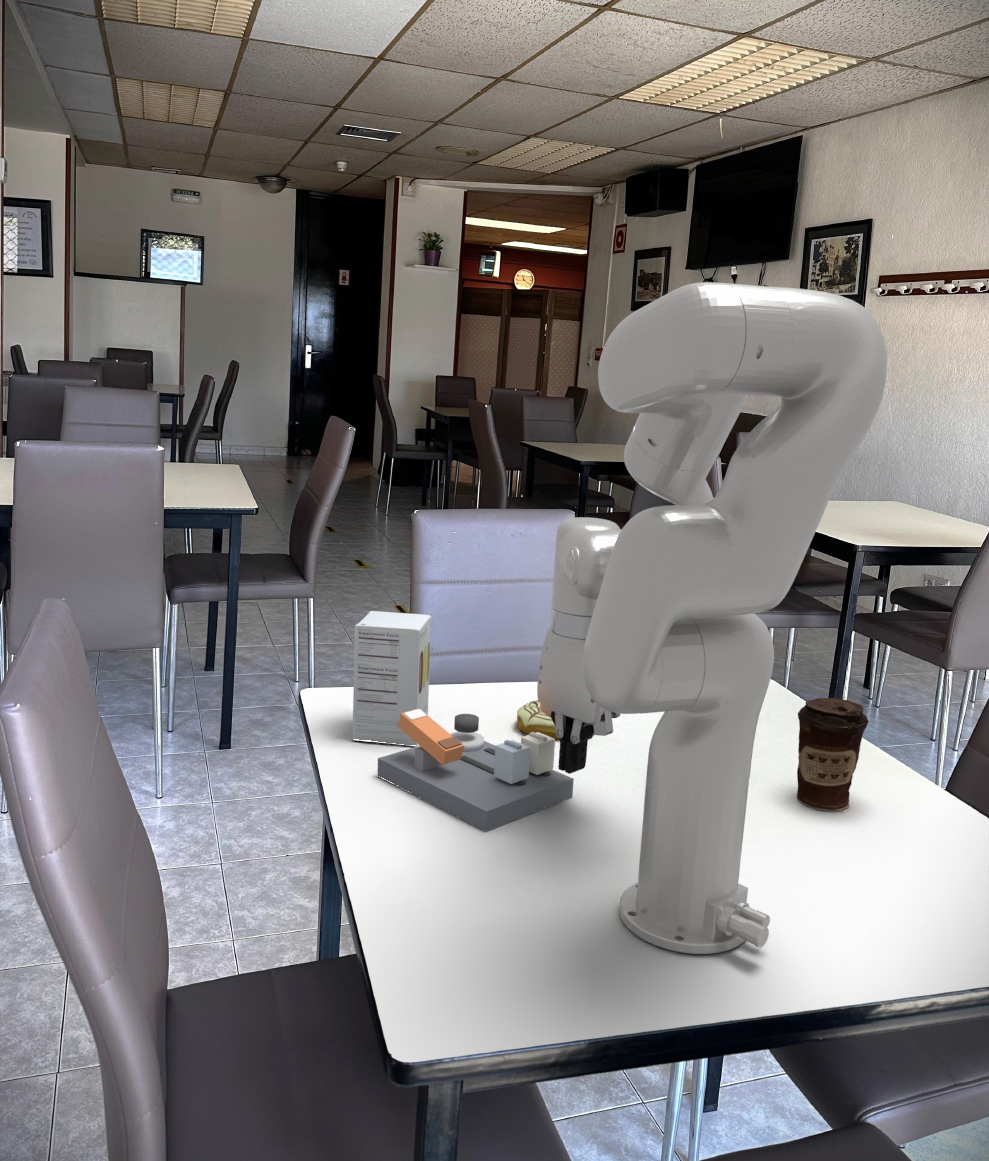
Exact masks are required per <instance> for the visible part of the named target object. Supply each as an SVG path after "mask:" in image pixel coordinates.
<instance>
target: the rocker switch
mask: <svg viewBox="0 0 989 1161" xmlns="http://www.w3.org/2000/svg"><path fill="white" fill-rule="evenodd" d="M398 727H399V728H400V729H401V730H402V731H404V732H405V733H406V734H407V735H408V736H409V737H411V738H412V739H413V740H414V741H415V742H416V743H417V745H418V746H421V747H422V748H423V749H425V750H426V751H427V752H428V753H429V754H430V755H432V756H433V757H434V758H435V759H436V760H437V761H439V762H440V763H441V764H442V765H444V764H447V763H450V762H453V761H457V760H460V759H461V756H462V753H463V749H464V745H463V744H462V743H461V742H460V741H458V740H457V739H456V738H455V737H453V736H452V735H451V734H452V733H450V732H448V731H447V730H446V729H445V728H443V727H442V726H441V725H440V724H438V723H437V722H436V721H435V720H434V719H432V717H430V716H429V714H428V715H427V714H425V713H424V712H423V711H422V710H421V709H416V710H412V711H408V712H404V713H401V715H400V720H399V724H398Z"/></svg>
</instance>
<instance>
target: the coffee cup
mask: <svg viewBox="0 0 989 1161" xmlns="http://www.w3.org/2000/svg"><path fill="white" fill-rule="evenodd" d="M864 708H865V707H864V706H863V705H861V704H860V703H857V702H854V701H850V700H848V699H842V698H835V697H817V698H814V699H808V700H806V701H805V705H804V706H803V707H801V708H800V710H799V711H798V712H797V718H798V723H799V724H798V725H799V730H798V750H797V751H798V757H797V758H798V764H797V768H796V769H797V770H796V777H797V793H796V799H797V801H798V802H800V803H801V804H802V805H804V806H807V807H808V808H809V807H810V808H814V809H815V810H821V811H830V812H831V811H832V812H833V811H842V810H843V811H844V810H846V809H848V808H850V794H851V793H850V789H851V786H852V780H853V777H854V776H853V775H854V773H855V771H856V768H857V764H858V762H859V756H860V750H861V744H862V740H863V734H864V733H865V730H866V728H867V727H868V725H869V721H870V720H869V719H868V717H867V715H866V714H864Z"/></svg>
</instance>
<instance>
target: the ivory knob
mask: <svg viewBox="0 0 989 1161" xmlns="http://www.w3.org/2000/svg"><path fill="white" fill-rule="evenodd" d="M520 743H521V744H524V745H526V746H529V747H530V760H529V772H531V773H534V774H536V775H538V774H541V773H544V772H546V771H549V770H554V766H555V765H554V763H555V747H556V739H554V738H551V737H549V736H546V735H544V734H541V733H539V732H536V733H535V732H531V733H530V735H528V734H526V735H525V736H521V737H520Z"/></svg>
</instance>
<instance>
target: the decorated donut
mask: <svg viewBox="0 0 989 1161" xmlns="http://www.w3.org/2000/svg"><path fill="white" fill-rule="evenodd" d="M540 704H541V703H540V702H539V701H538V699H537V700H536V699H535V700H532V701H529V702H527V703H525V704H524V705H522V706H520V707H519V708H518V709H517V711H516V724H517V728H518V730H519V729H521V730H522V731H521V730H520V731H521V732H523V733H524V732H525V734H526V735H528V734H529V735H530V733H531V732H535V733H536V732H539V733H541V734H544V735H546V736H549V737H551V738H554V739H555V740H560V738H559V737H558V736H557V735H556V726H555V725H554V723H553V721H552V719H551V717H549V716H547V715H546V714H544V713H543V712H542V711H541V710H540Z"/></svg>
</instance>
